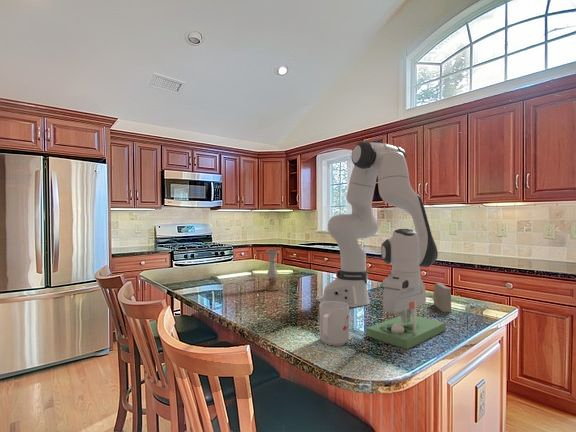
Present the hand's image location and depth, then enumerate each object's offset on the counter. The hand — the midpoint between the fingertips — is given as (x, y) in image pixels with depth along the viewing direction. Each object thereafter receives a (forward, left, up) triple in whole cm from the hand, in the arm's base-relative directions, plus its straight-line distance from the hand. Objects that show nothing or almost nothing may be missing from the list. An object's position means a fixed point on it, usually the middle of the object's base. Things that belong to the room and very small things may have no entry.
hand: (405, 322), depth 106 cm
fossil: (+16, +35, -4) cm, 39 cm away
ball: (-3, -4, -2) cm, 5 cm away
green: (0, 0, -4) cm, 4 cm away
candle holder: (-63, +50, -4) cm, 81 cm away
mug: (-22, -15, -4) cm, 26 cm away
